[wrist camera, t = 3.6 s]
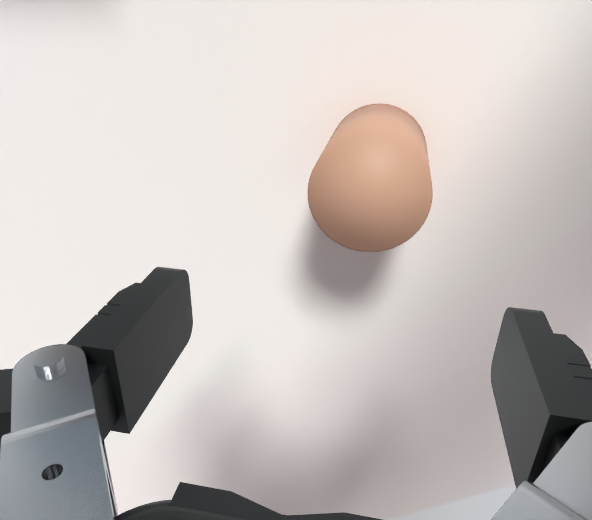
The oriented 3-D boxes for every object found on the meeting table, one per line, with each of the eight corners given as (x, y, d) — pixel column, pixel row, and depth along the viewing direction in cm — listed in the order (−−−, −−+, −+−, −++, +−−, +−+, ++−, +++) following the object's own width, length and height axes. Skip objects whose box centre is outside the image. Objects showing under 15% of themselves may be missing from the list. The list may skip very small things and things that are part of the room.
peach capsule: (433, 106, 25) (441, 138, 19) (419, 202, 28) (423, 257, 21) (332, 101, 26) (309, 130, 20) (327, 194, 28) (306, 245, 22)
